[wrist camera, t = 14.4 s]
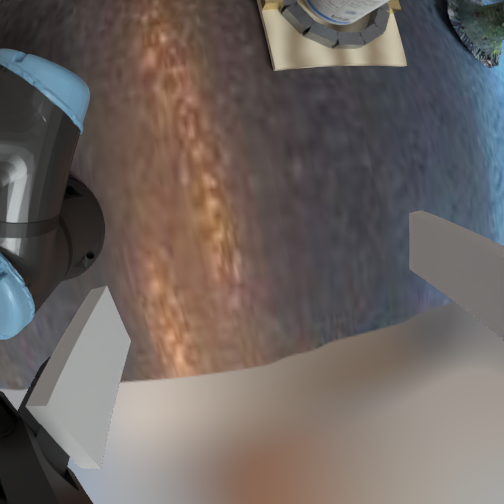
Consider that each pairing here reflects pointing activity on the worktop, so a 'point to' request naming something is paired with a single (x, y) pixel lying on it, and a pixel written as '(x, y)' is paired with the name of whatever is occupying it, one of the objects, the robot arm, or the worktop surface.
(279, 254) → the worktop surface
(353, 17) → the supplement tub
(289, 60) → the base plate
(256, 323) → the worktop surface
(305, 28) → the ring
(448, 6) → the tree stump
